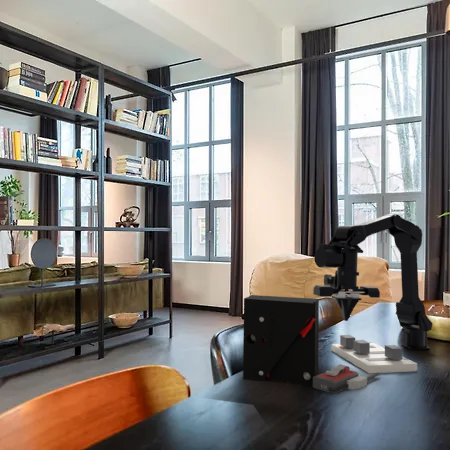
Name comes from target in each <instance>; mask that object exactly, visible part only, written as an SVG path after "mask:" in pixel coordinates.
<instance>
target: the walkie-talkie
mask: <svg viewBox="0 0 450 450" xmlns="http://www.w3.org/2000/svg"><path fill="white" fill-rule="evenodd" d="M380 375H381V374H380V373H378V372H377V373H371V374H369V375H368V376H361V375H359V372H357V371H354V370H351V367H350V366H348V365H343V364H338V365H336V366H335V365H334V366H333V367H332V368H331V369H330V370H325V372H322V373H320V374H318V375H317V376H314V377H313V386H312V388H314V389H316V390H321V391H323V392H326V393H330V394H337V392H338V393H339V391H340V392H342V391H344V390H346V389H347V390H359V389H361V387H362V388H364V387H367V386H368V382H369V381H371V380H373V379H374V380H375V378H376V377H379V376H380ZM341 390H342V391H341Z"/></svg>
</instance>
